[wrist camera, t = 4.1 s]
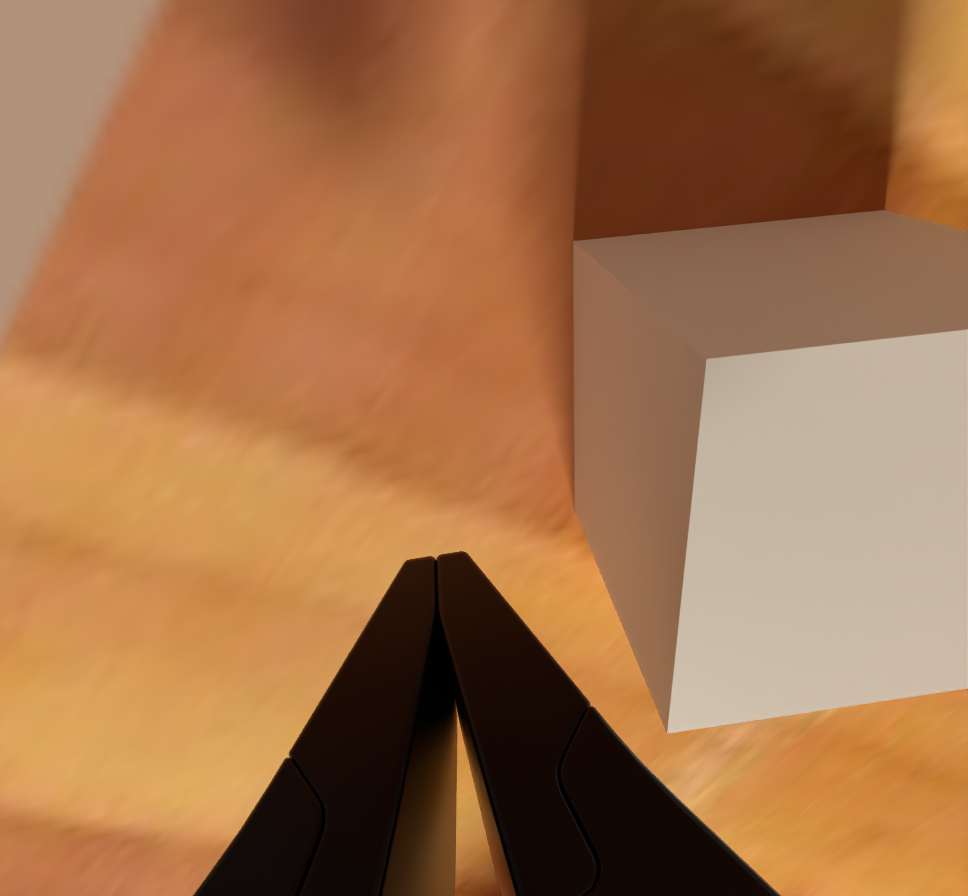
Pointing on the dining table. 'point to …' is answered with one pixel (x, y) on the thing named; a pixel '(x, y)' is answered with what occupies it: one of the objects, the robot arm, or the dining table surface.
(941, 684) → the plain white cube
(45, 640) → the dining table surface
